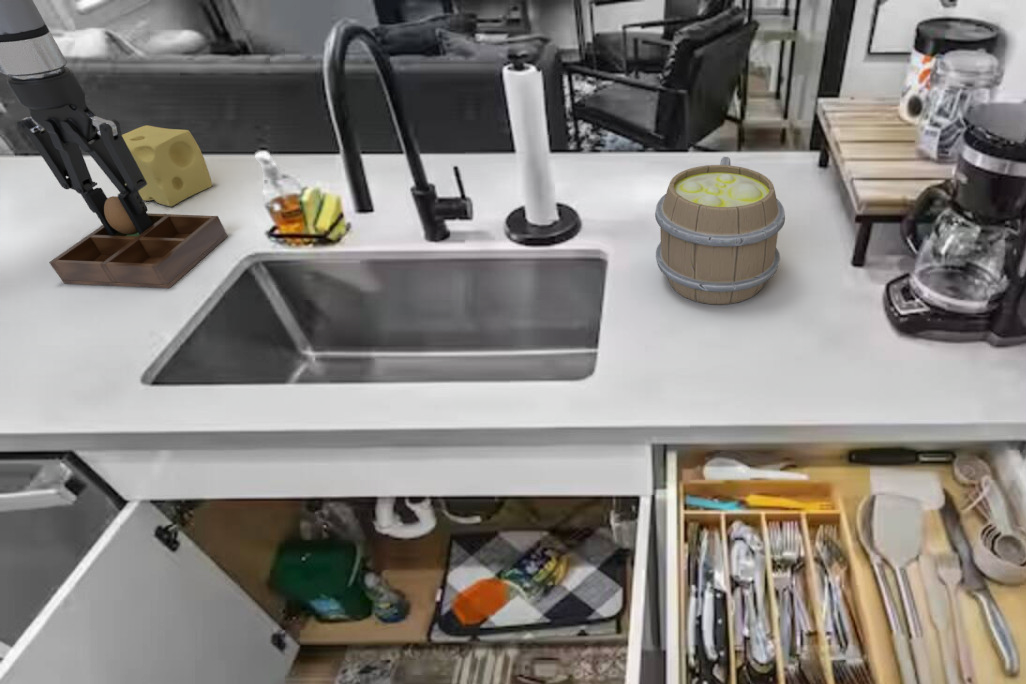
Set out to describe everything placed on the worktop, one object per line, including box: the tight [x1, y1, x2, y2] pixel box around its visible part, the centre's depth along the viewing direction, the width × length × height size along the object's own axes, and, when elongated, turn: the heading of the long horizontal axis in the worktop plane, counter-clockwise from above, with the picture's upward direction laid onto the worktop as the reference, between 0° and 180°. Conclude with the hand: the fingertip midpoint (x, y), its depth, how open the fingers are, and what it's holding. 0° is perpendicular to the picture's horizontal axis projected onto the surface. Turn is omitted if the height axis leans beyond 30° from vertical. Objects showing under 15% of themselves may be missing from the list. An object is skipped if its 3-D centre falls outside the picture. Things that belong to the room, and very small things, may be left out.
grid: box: [49, 212, 229, 289], centre depth 105 cm, size 16×16×4 cm
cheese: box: [122, 124, 214, 207], centre depth 120 cm, size 10×11×10 cm
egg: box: [104, 195, 138, 235], centre depth 105 cm, size 4×4×6 cm
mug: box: [654, 156, 786, 306], centre depth 100 cm, size 19×25×15 cm
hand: (132, 231), depth 107 cm, fingers closed on egg, 4 cm apart
